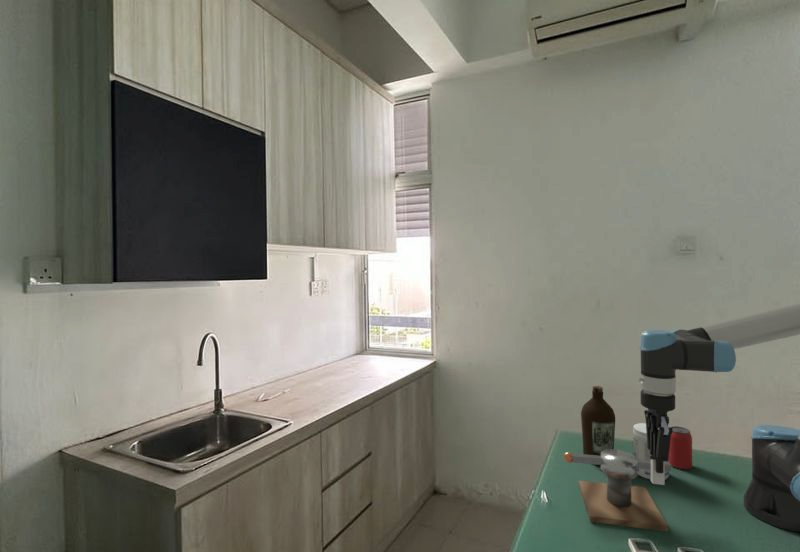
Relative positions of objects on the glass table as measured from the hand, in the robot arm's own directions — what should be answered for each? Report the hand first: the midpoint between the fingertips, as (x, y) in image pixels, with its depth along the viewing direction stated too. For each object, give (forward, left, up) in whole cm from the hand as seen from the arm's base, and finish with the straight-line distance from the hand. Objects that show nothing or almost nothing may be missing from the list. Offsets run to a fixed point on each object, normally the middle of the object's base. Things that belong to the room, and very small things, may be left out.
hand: (657, 482), depth 106 cm
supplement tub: (-7, -28, -11) cm, 31 cm away
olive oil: (+7, -35, -11) cm, 38 cm away
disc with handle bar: (+8, -7, -1) cm, 11 cm away
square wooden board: (+7, -7, -11) cm, 15 cm away
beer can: (-18, -36, -11) cm, 42 cm away
